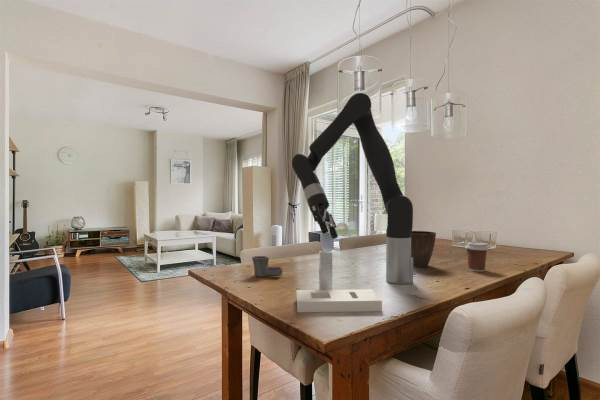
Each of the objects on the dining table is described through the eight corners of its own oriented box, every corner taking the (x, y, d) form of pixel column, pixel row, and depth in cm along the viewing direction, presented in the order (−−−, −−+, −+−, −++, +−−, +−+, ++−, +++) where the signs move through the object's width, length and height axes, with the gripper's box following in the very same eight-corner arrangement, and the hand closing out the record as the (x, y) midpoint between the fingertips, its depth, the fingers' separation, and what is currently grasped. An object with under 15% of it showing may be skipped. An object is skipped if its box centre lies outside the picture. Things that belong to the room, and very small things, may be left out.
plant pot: (396, 264, 152) (396, 231, 152) (417, 261, 160) (417, 230, 160) (421, 270, 139) (421, 234, 139) (443, 266, 147) (443, 232, 147)
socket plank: (371, 298, 100) (371, 289, 100) (382, 311, 89) (382, 300, 89) (296, 299, 99) (296, 290, 99) (297, 312, 88) (297, 301, 88)
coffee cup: (491, 272, 135) (491, 245, 135) (467, 271, 137) (467, 244, 137) (485, 268, 144) (485, 242, 144) (463, 267, 146) (463, 241, 146)
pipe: (279, 279, 125) (279, 259, 124) (249, 277, 127) (249, 257, 127) (283, 275, 130) (283, 256, 130) (254, 273, 133) (254, 255, 133)
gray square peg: (330, 291, 108) (330, 250, 108) (332, 294, 104) (332, 252, 104) (319, 291, 108) (319, 250, 108) (320, 295, 104) (320, 252, 104)
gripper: (316, 187, 112) (331, 226, 104) (332, 199, 124) (347, 235, 116) (298, 197, 114) (312, 236, 107) (316, 207, 126) (329, 243, 118)
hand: (330, 235), depth 111 cm, fingers open, 8 cm apart
